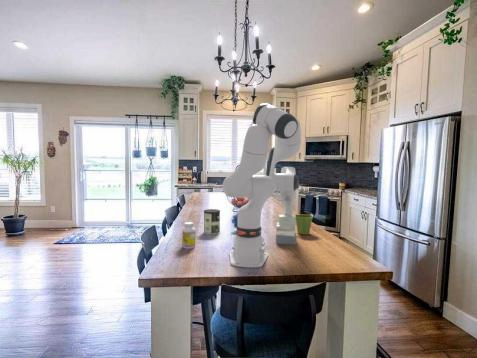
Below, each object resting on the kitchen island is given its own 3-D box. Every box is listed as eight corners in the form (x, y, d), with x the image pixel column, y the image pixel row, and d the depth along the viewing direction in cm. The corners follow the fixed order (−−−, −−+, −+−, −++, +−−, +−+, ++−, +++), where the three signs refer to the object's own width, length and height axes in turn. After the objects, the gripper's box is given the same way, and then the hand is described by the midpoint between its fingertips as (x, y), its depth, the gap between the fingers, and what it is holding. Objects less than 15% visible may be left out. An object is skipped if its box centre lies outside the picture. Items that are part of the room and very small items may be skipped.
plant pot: (315, 232, 172) (316, 215, 172) (309, 236, 163) (309, 218, 162) (298, 229, 179) (298, 213, 178) (290, 233, 169) (291, 216, 168)
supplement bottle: (179, 246, 141) (179, 222, 140) (190, 244, 146) (190, 220, 145) (187, 250, 136) (187, 225, 135) (197, 247, 141) (197, 223, 140)
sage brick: (295, 226, 149) (295, 217, 149) (279, 225, 150) (279, 216, 150) (294, 223, 155) (294, 215, 155) (278, 223, 156) (278, 214, 156)
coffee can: (220, 230, 175) (220, 209, 174) (219, 234, 165) (219, 212, 164) (204, 230, 175) (204, 208, 174) (202, 234, 165) (202, 211, 164)
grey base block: (296, 245, 147) (296, 236, 147) (275, 244, 148) (276, 235, 148) (294, 239, 158) (294, 231, 158) (275, 238, 159) (276, 230, 159)
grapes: (232, 232, 170) (232, 214, 169) (231, 230, 177) (231, 212, 176) (250, 232, 172) (250, 213, 171) (248, 229, 178) (249, 211, 177)
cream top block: (294, 236, 147) (294, 227, 147) (276, 235, 149) (276, 226, 148) (294, 231, 157) (294, 223, 156) (277, 230, 159) (277, 222, 158)
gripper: (295, 197, 141) (294, 223, 142) (291, 193, 161) (291, 216, 162) (283, 197, 141) (282, 223, 142) (281, 193, 162) (280, 215, 163)
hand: (287, 219), depth 152 cm, fingers open, 6 cm apart
